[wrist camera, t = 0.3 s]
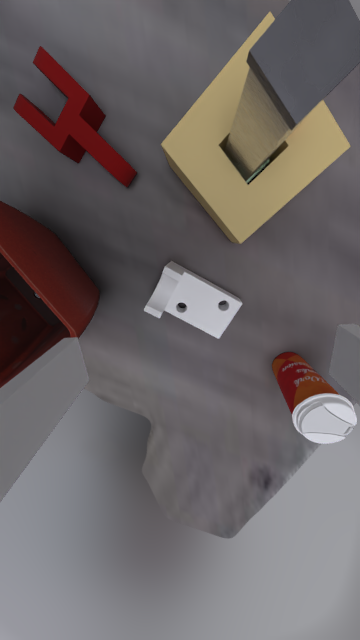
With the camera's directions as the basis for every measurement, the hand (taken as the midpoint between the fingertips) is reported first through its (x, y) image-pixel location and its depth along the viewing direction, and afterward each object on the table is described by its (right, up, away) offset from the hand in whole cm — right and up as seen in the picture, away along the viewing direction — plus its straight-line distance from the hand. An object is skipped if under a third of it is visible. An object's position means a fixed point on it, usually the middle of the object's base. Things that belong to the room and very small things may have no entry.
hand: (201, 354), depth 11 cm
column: (+7, +23, +19) cm, 31 cm away
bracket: (+2, +6, +27) cm, 28 cm away
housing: (+7, +23, +19) cm, 31 cm away
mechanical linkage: (-14, +27, +20) cm, 37 cm away
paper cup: (+19, -7, +30) cm, 36 cm away
